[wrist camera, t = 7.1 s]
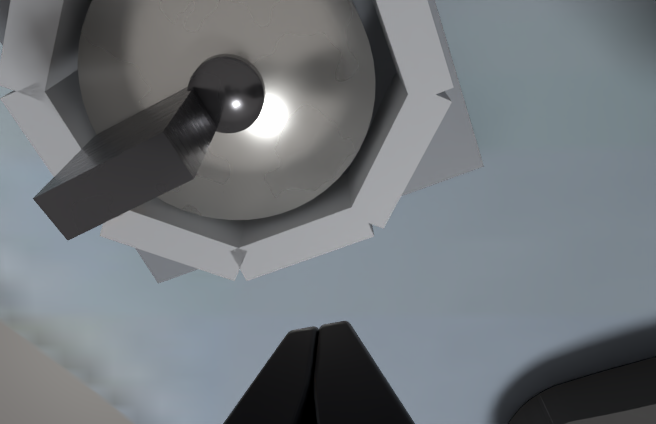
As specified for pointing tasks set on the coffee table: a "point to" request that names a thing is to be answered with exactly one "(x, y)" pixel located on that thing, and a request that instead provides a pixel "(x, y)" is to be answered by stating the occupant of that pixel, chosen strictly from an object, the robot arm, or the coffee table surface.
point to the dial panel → (289, 227)
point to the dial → (214, 107)
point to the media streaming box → (597, 399)
